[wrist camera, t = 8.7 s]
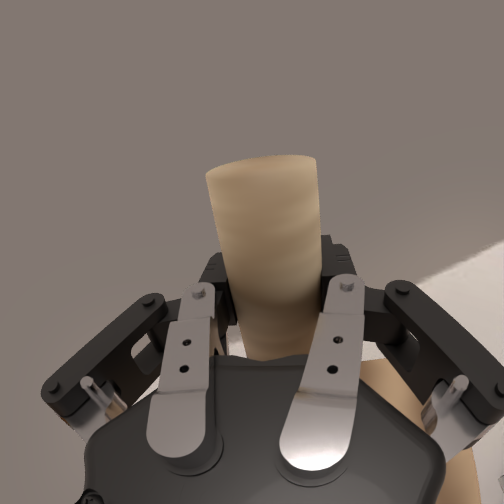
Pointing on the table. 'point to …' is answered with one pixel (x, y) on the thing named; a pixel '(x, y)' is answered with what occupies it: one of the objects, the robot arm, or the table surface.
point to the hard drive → (502, 482)
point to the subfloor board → (403, 399)
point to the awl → (271, 250)
